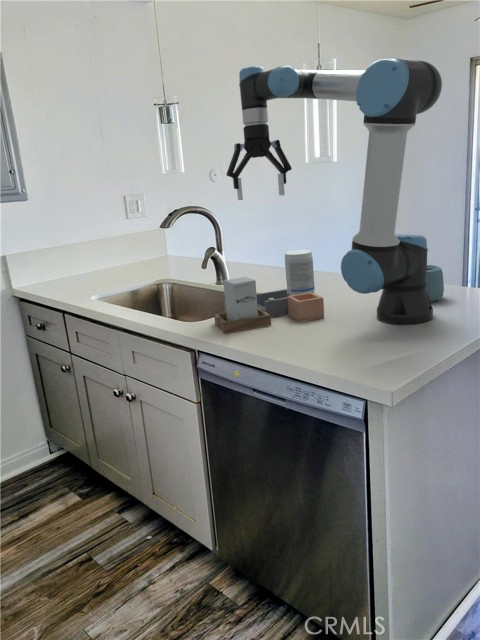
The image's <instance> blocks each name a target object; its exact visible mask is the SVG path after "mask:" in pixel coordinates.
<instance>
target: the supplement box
mask: <svg viewBox="0 0 480 640" xmlns="http://www.w3.org/2000/svg"><path fill="white" fill-rule="evenodd" d="M222 282H223V292H224V301H225V312H226V315H227V321H228V322H229V321H235V320H241V319H247V318H252V317H258V307H257V294H258V293H257V286H256V285H257V283H256V279H253V278H250V277H248V276H242V277H237V278H236V277H235V278H230V279H224V280H223V281H222Z"/></svg>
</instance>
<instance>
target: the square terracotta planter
mask: <svg viewBox="0 0 480 640" xmlns="http://www.w3.org/2000/svg"><path fill="white" fill-rule="evenodd" d="M287 298H288V313H289V314H288V316H289V317H290V318H292V319H294V320H295V321H297V322H298V323H301V322H307V321H313V320H318V319H322V318H325V304H324V297H323V296H321V295H318V294H317V293H314V292H313V293H312V292H310V293H304V294H298V295H292V296H290V295H288V296H287Z"/></svg>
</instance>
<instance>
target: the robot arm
mask: <svg viewBox="0 0 480 640" xmlns="http://www.w3.org/2000/svg"><path fill="white" fill-rule="evenodd" d="M238 75H239V84H238V85H239V91H240V102H241V105H240V106H241V114H242V124H243V125H244V127H243V128H242V129H243V138H244V140H243V141H244V142H243V143H239V142H238V143H235V144H234V146H233V147H234V149H233V150H234V151H233V154H232V157H231V161H230V163H229V166H228V169H227V172H226V177H230V178H232V182H233V189H234V190H236V193H237V200H238V201H243V200H244V196H243V186H242V177H240V175H241V173H242V172H243V170H244V168H245V167H246V166H247V164H248V162H249V161H250V160H251V159H254V158H263V157H265V158H266V159H267V160H268V161H269V162H270V163H271V164H272V165H273V166H274V167H275V169H276V170H277V171H278V172H279V173H277V182H278V183H277V184H278V185H277V186H278V195H279V196H285V185H286V184H287V173H288V172H289V171H292V166H291V164H290V162H289V161H288V158H287V157H286V154H285V152H284V150H283V149H282V147H281V141H280V140H279V139H274V140H272V141H271V140H270V129H269V124H267V123H268V122H269V116H268V115H269V114H268V104H267V103H268V101H270V100H276V99H311V100H313V99H314V100H315V99H316V100H330V101H332V100H333V101H349V102H356V105H357V107H359V108H358V109H359V111H360V112H361V113H362V114H363V122H362V124H363V125H364V126H365V128H367V130H368V139H367V149H366V150H367V151H366V159H365V160H366V161H365V162H366V163H365V172H364V182H363V184H364V185H363V192H362V201H361V202H362V203H361V211H360V213H361V214H360V222H359V231H358V232H357V233H356V234H355V235H354V236H353V237H352V240H351V250H348V251H347V252H346V253H345V254H344V255H343V256H342V259H341V261H340V271H341V275H342V278H343V280H344V281H345V283H347V286H348V287H349V288H350V289H351V290H353V291H354V292H356V293H359V294H365V295H367V294H372V293H377V292H379V291H380V290H381V292H382V293H381V295H380V298H379V300H378V304H377V307H376V318H377V319H378V320H380V322H381V321H382V322H384V323H388V324H397V325H412V324H413V325H414V324H421V323H425V322H428V321H431V320H432V319H433V318H434V307H433V305H432V302H431V301H430V298H429V295H428V292H427V265H428V251H429V249H428V243H427V241H428V239H427V238H426V237H425V236H424V235H421V234H398V233H397V234H395V233H396V232H395V231H396V225H397V217H398V216H397V215H398V209H399V208H398V207H399V202H400V201H399V200H400V193H401V187H402V186H401V185H402V177H403V169H404V161H405V152H406V144H407V137H408V133H409V131H410V130H411V129H412V128H414V126H415V125H416V121H417V120H416V119H417V115H420V114H422V113H425V112H427V111H428V110H430V109H431V108H432V107H433V106H434V105H436V103H437V101H438V99H439V98H440V95H441V93H442V89H443V88H442V87H443V81H442V77H441V73H440V71H439V70H438V69H437V68H436V67H435V66H434V65H433V64H432V63H431V62H428V61H424V60H413V59H405V58H404V59H403V58H394V57H392V58H384V59H378V60H376V61H374V62H372V63H371V64H370V65H369V66H367V68H366V69H364V70H351V69H349V70H347V69H346V70H343V69H342V70H341V69H340V70H338V69H337V70H335V69H333V70H332V69H331V70H329V69H328V70H327V69H326V70H324V69H322V70H321V69H295V68H293V67H292V66H290V65H285V66H277V67H275V68H272V69H269V70H266V71H265V68H264V67H263V66H249V67H244V68H241V69H240V71H239V74H238ZM271 147H272V148H273V149H274V152H275V153H276V155H277V157H278V158H279V160H278V159H277V158H276V157H275V156H274V155H273V153H272V152H271V150H270V148H271ZM243 150H244V151H245V152H246V153H245V154H244V156H243V158H242V160H241V161H240V163H239V164H238V165H237V163H238V161H239V158H240V155H241V152H242V151H243ZM280 162H281V163H280ZM236 166H237V168H236Z"/></svg>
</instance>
